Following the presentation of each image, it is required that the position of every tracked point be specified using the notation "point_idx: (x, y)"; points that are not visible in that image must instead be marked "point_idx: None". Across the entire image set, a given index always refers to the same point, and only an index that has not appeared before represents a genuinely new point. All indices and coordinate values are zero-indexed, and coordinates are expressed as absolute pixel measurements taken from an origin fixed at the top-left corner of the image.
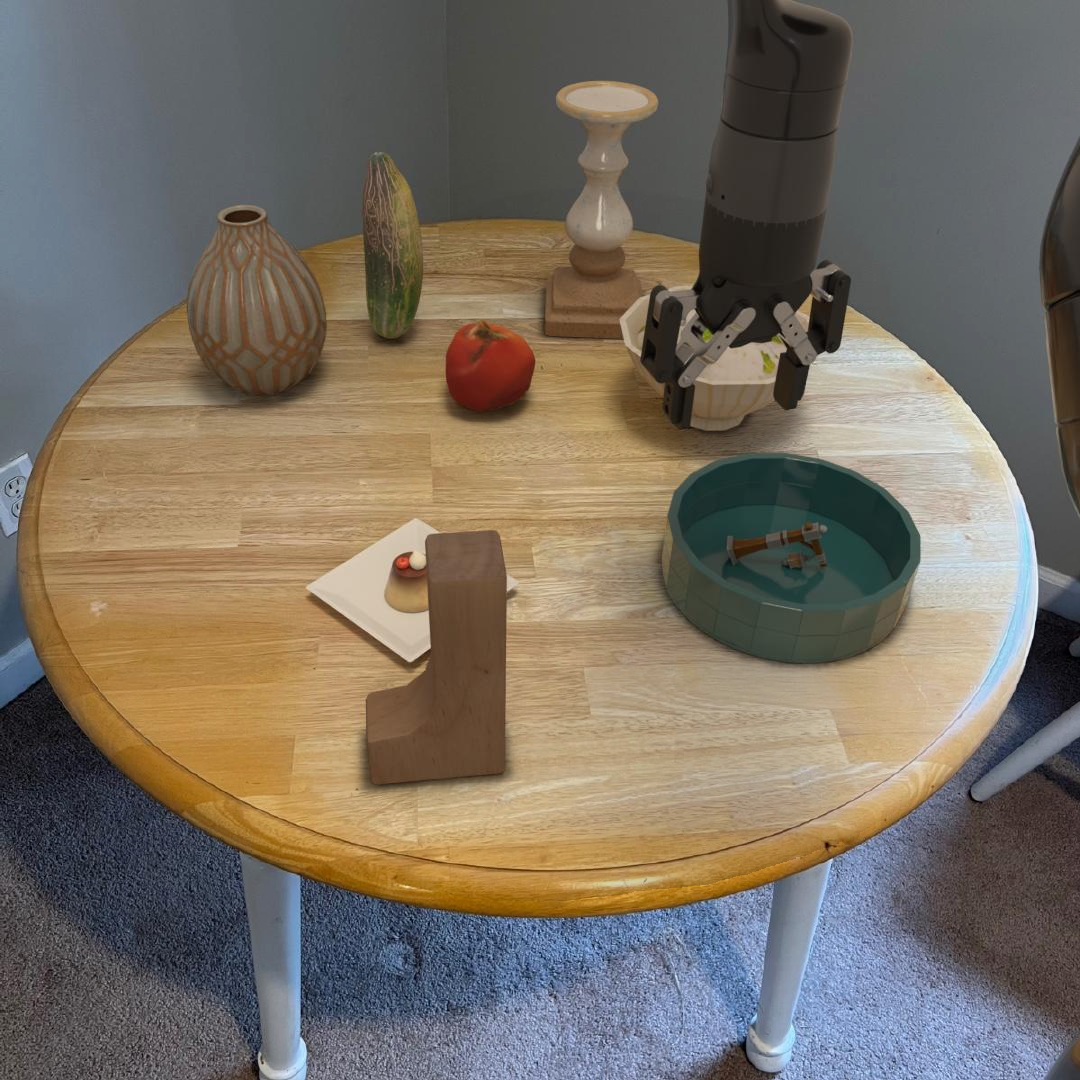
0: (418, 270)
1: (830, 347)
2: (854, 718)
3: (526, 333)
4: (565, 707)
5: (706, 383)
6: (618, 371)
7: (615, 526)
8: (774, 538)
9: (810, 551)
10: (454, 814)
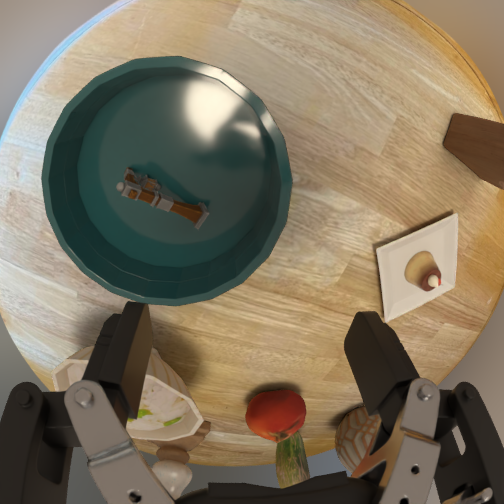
0: (284, 463)
1: (31, 398)
2: (214, 14)
3: (220, 425)
4: (406, 132)
5: (158, 378)
6: None
7: (268, 281)
8: (165, 202)
9: None
10: (476, 109)
